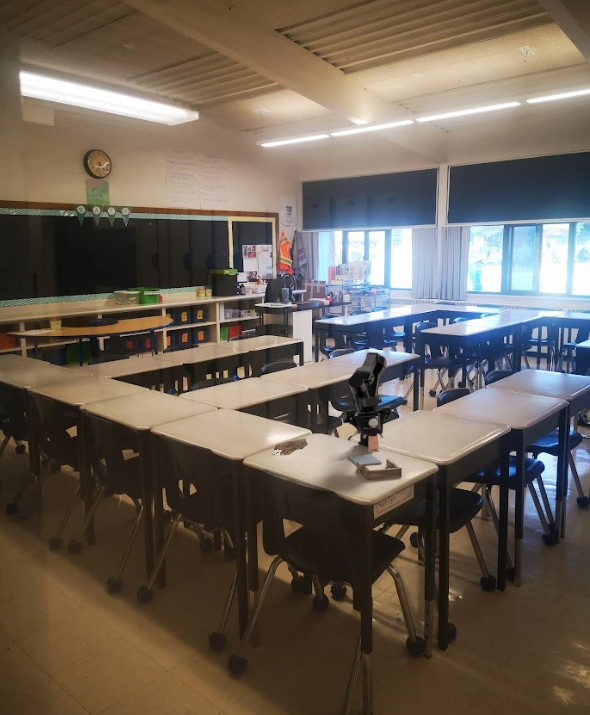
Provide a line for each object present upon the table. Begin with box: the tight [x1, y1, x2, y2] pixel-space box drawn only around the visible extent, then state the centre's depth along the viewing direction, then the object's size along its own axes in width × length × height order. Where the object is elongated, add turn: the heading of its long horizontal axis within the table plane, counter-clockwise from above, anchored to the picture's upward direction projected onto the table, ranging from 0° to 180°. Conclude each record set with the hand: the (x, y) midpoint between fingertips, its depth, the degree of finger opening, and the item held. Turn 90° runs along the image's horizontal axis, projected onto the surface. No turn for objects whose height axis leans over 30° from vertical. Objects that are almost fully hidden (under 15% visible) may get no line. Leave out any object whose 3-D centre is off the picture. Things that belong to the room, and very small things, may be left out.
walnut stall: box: [356, 458, 403, 481], centre depth 221 cm, size 11×13×3 cm
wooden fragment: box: [273, 438, 309, 456], centre depth 251 cm, size 26×11×1 cm, turn 146°
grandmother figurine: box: [363, 419, 384, 453], centre depth 226 cm, size 8×4×13 cm, turn 109°
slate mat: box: [347, 453, 383, 467], centre depth 234 cm, size 10×10×1 cm
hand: (373, 434), depth 225 cm, fingers closed on grandmother figurine, 7 cm apart
